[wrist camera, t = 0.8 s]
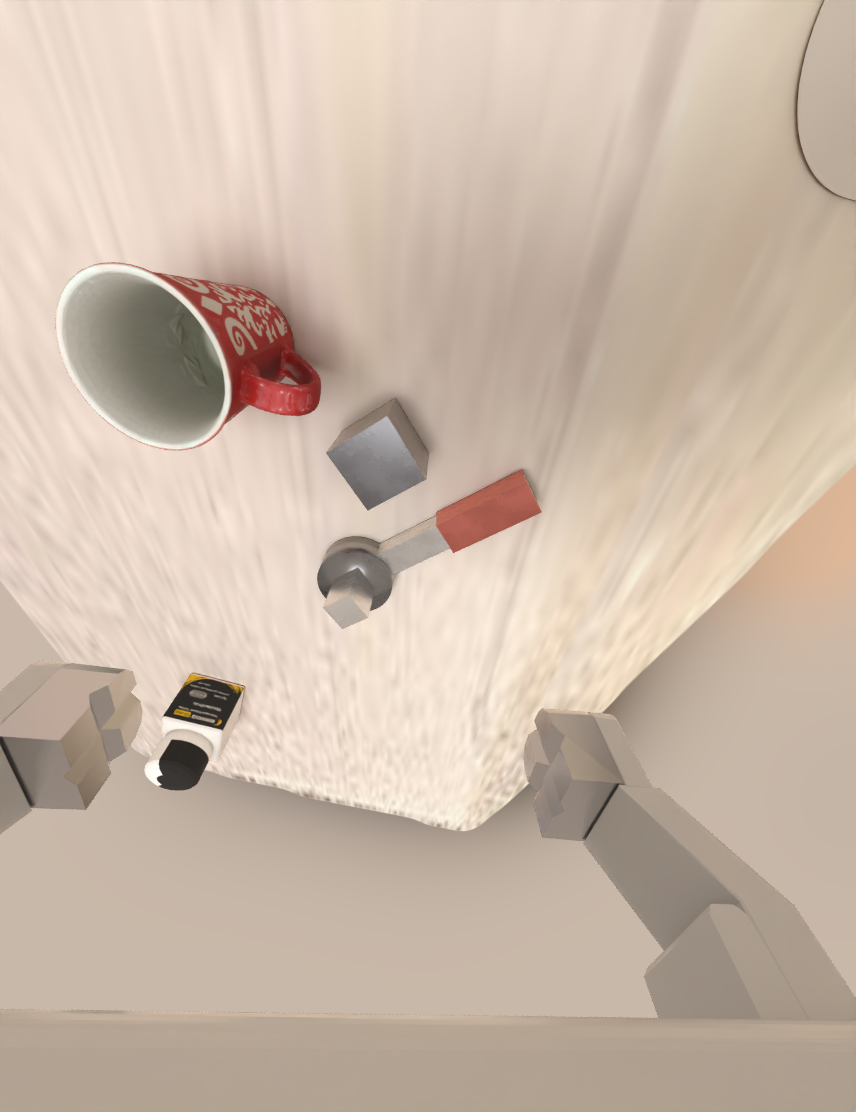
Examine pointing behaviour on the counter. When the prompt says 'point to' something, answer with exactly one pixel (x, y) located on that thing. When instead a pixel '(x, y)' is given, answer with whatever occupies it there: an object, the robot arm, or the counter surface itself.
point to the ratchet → (416, 547)
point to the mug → (177, 353)
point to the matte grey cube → (380, 455)
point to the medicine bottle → (194, 731)
